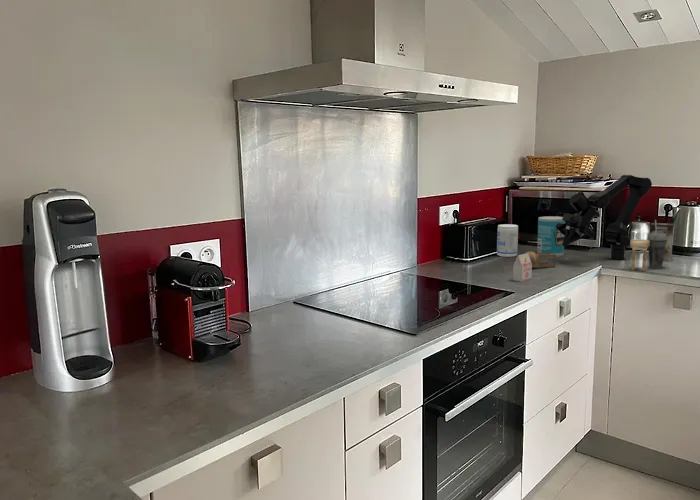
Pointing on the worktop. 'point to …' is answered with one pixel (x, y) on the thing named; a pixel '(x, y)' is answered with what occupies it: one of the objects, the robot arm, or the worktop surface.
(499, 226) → the supplement tub
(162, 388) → the worktop surface
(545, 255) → the wooden stool
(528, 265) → the milk carton
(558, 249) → the food can
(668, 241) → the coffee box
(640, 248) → the light brown bar stool
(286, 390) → the worktop surface
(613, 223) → the robot arm
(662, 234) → the beverage cup
